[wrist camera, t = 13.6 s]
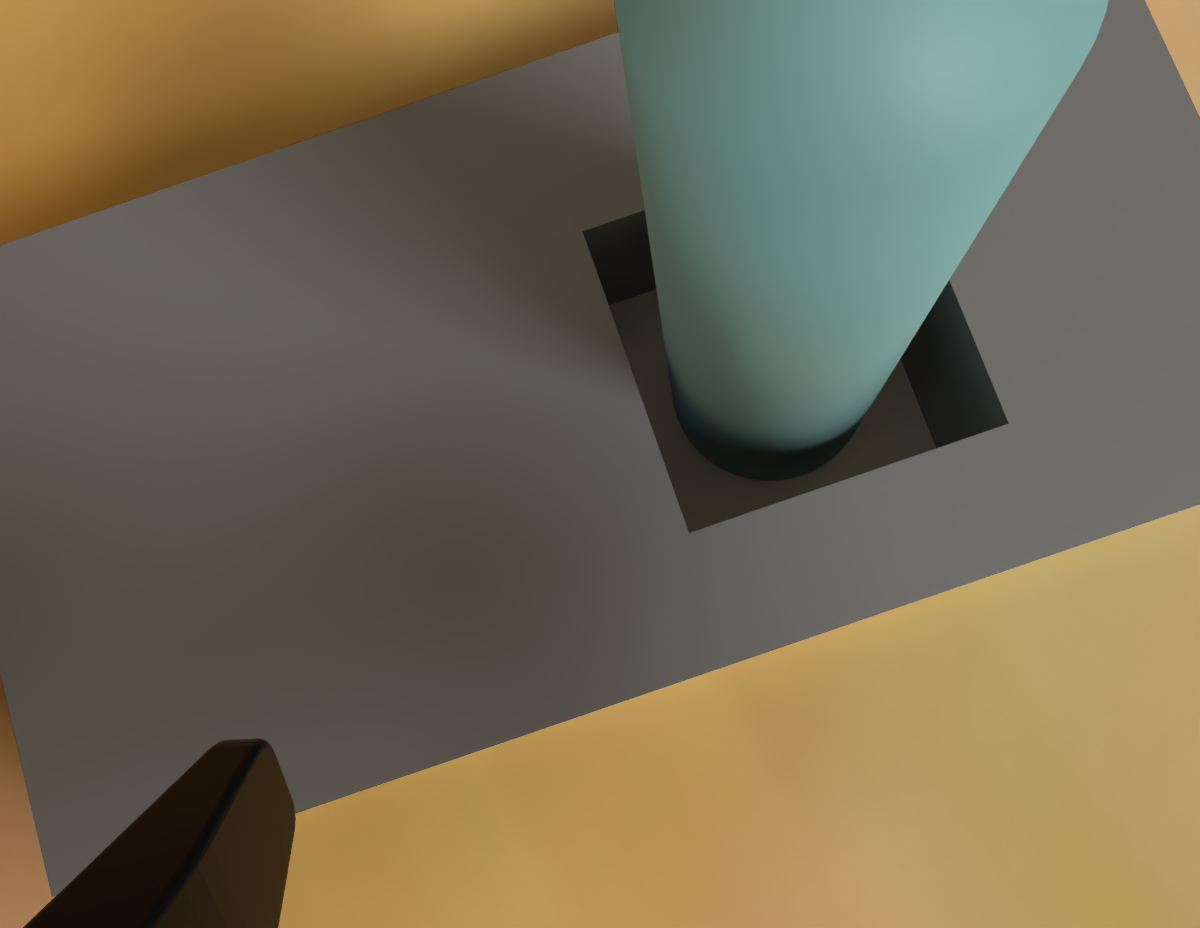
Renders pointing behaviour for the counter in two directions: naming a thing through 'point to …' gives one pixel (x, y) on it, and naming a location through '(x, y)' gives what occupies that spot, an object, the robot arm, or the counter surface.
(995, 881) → the counter surface
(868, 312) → the peg
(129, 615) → the socket block
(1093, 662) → the counter surface
